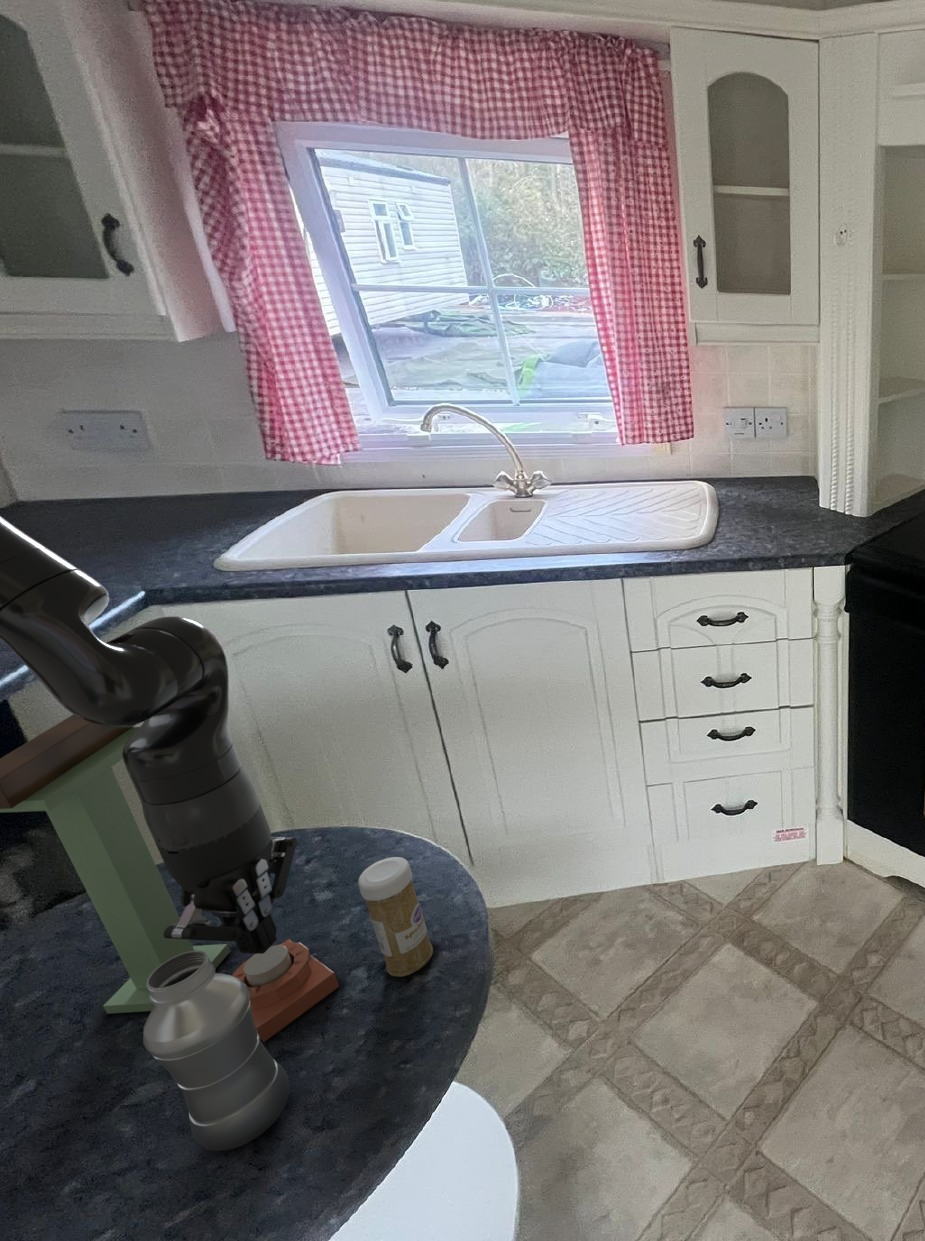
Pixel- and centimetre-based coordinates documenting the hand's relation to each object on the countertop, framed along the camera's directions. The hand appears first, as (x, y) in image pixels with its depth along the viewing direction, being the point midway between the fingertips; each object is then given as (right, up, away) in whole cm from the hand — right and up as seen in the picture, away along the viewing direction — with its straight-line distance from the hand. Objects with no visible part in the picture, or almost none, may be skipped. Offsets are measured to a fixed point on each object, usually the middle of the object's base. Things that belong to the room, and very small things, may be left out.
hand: (261, 947), depth 77 cm
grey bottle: (+7, -12, -9) cm, 16 cm away
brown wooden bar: (-12, +23, -4) cm, 27 cm away
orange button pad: (0, -7, +3) cm, 7 cm away
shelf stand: (-13, -6, +4) cm, 15 cm away
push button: (0, -3, +1) cm, 3 cm away
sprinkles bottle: (+11, -6, +7) cm, 14 cm away
